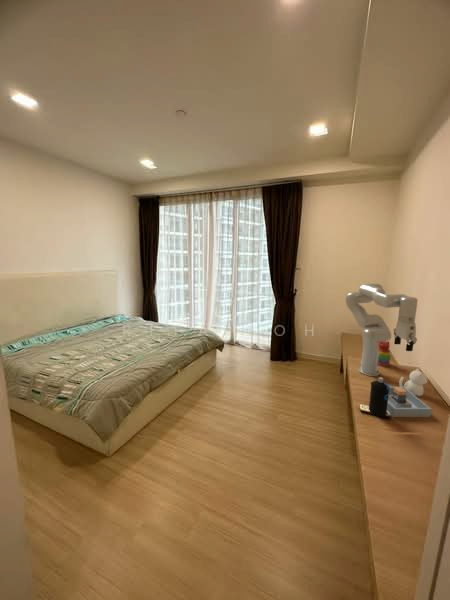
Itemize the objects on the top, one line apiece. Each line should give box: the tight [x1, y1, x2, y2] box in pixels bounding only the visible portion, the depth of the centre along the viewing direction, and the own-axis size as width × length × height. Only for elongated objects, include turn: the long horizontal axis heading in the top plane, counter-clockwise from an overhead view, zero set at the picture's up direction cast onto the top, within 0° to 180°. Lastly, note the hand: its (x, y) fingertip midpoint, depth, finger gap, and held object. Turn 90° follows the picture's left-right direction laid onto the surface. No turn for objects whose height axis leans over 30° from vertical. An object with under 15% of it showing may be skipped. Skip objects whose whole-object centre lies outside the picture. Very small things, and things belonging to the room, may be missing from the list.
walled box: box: [387, 386, 432, 418], centre depth 128 cm, size 20×18×5 cm
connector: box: [393, 386, 407, 403], centre depth 127 cm, size 4×4×9 cm
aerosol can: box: [368, 376, 391, 418], centre depth 121 cm, size 8×8×20 cm
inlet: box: [388, 395, 412, 408], centre depth 128 cm, size 8×8×3 cm
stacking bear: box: [377, 341, 392, 368], centre depth 173 cm, size 11×10×18 cm
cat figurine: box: [398, 368, 428, 397], centre depth 137 cm, size 9×12×15 cm
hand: (402, 347), depth 135 cm, fingers open, 9 cm apart
